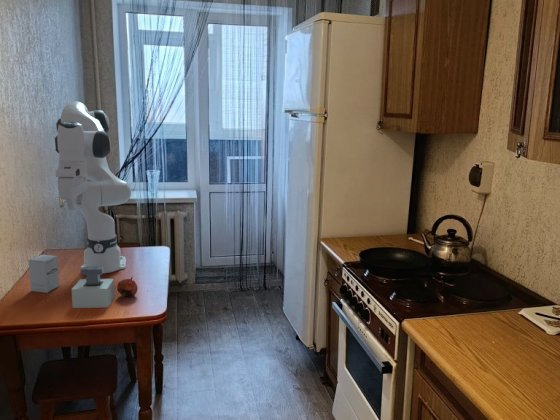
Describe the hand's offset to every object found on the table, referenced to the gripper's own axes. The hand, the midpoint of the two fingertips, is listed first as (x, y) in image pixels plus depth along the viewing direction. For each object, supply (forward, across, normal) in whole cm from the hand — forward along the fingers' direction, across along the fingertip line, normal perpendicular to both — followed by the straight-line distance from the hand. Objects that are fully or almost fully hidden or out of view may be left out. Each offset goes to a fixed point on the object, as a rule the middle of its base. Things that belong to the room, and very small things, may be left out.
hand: (75, 207), depth 167 cm
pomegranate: (+34, +1, +17) cm, 38 cm away
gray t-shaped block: (+33, +5, +6) cm, 34 cm away
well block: (+34, +5, +6) cm, 35 cm away
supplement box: (+34, -9, -16) cm, 39 cm away
